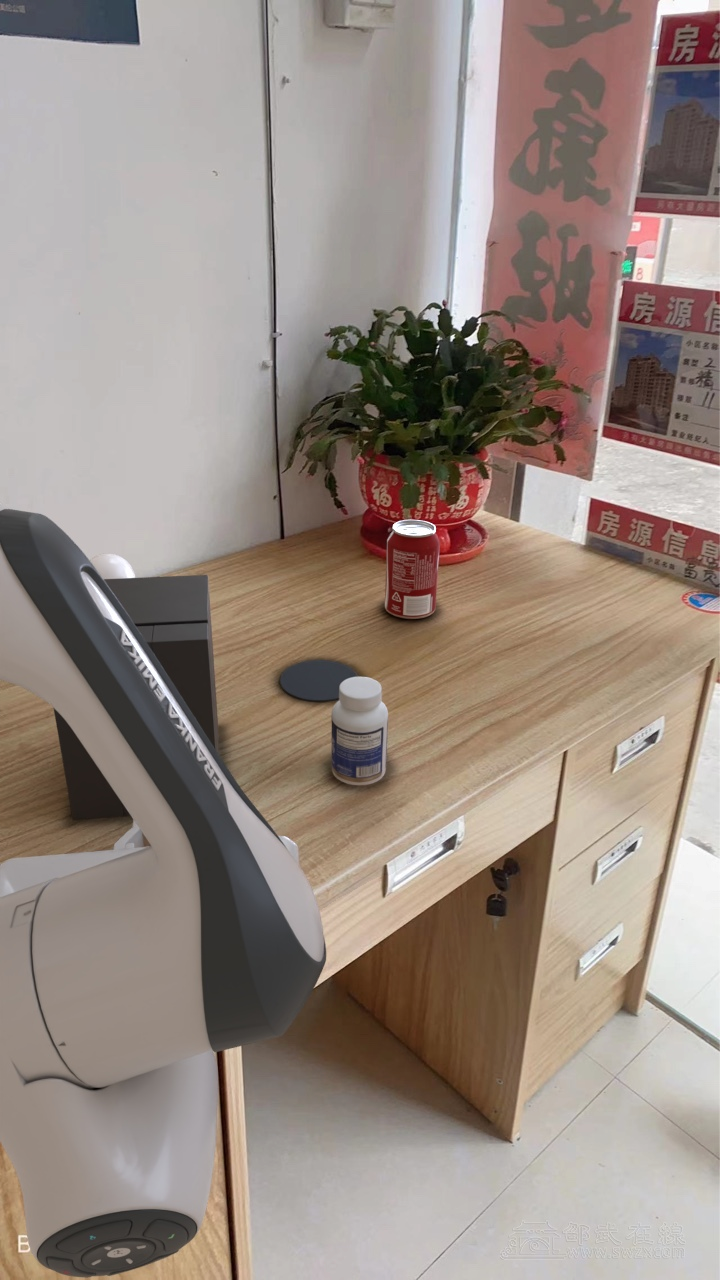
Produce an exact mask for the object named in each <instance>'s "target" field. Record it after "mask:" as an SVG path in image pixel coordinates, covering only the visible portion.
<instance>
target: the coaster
mask: <svg viewBox="0 0 720 1280" xmlns="http://www.w3.org/2000/svg"><path fill="white" fill-rule="evenodd" d="M352 677H359V676H358V674H357V672H356V671H355V670H354V669H353V668H351V667H350V666H348V665H347V664H344V663H342V662H339V661H334V660H327V659H312V660H305V661H301V662H298V663H294V664H292V665H291V666H289V667H287V668H286V669H284V670H283V672H282V673H281V675H280V677H279V686H280V687H281V689H282V690H283V692H284V693H286V694H287V695H289V696H290V697H292V698H293V699H297V700H300V701H305V702H309V703H310V702H311V703H327V702H334V701H339V687H340V684H341V683H342V682H343V681H344V680H346V679H348V678H352Z"/></svg>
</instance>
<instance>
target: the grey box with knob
mask: <svg viewBox="0 0 720 1280" xmlns="http://www.w3.org/2000/svg"><path fill="white" fill-rule="evenodd" d="M104 581H105V582H106V583H107V585H108V586H109V588H110V589H111V591H112V592H113V593H114V595H115V596H116V598H117V599H118V601H119V602H120V604H121V605H122V606H123V608H124V609H125V611H126V612H127V614H128V615H129V617H130V618H131V620H132V621H133V623H134V624H135V626H136V627H137V629H138V630H139V632H140V633H141V635H142V636H143V638H144V639H145V641H146V642H147V644H148V646H149V647H150V649H151V650H152V652H153V653H154V655H155V656H156V658H157V659H158V661H159V662H160V664H161V666H162V667H163V669H164V670H165V672H166V673H167V675H168V676H169V678H170V679H171V681H172V683H173V684H174V686H175V687H176V689H177V690H178V692H179V694H180V695H181V697H182V698H183V700H184V701H185V703H186V704H187V706H188V708H189V709H190V711H191V712H192V714H193V715H194V717H195V718H196V720H197V722H198V723H199V725H200V726H201V728H202V729H203V731H204V732H205V734H206V736H207V737H208V739H209V740H210V742H211V743H212V745H213V746H214V748H215V750H216V751H217V753H218V754H219V755H220V744H219V743H220V742H219V739H220V738H219V733H220V732H219V717H218V716H219V715H218V702H217V701H218V700H217V688H216V674H215V658H214V643H213V627H212V614H211V599H210V585H209V584H210V583H209V582H210V581H209V574H195V575H194V574H193V575H174V576H173V575H172V576H171V575H170V576H169V575H167V576H151V577H150V576H148V577H145V576H144V577H135V578H120V579H104ZM53 713H54V714H53V715H54V718H55V725H56V731H57V737H58V742H59V749H60V754H61V759H62V765H63V772H64V776H65V783H66V789H67V795H68V801H69V806H70V813H71V817H72V821H86V820H97V819H98V820H99V819H111V818H112V819H113V818H122V817H131V815H130V814H129V812H128V811H127V809H126V808H125V806H124V805H123V803H122V802H121V800H120V799H119V797H118V796H117V794H116V793H115V792H114V790H113V789H112V787H111V786H110V784H109V783H108V781H107V780H106V778H105V777H104V775H103V774H102V772H101V771H100V770H99V768H98V767H97V765H96V764H95V762H94V761H93V759H92V758H91V756H90V755H89V753H88V752H87V750H86V749H85V748H84V746H83V745H82V743H81V742H80V740H79V739H78V737H77V736H76V734H75V733H74V731H73V730H72V728H71V727H70V726H69V724H68V723H67V722H66V720H65V719H64V718H63V717H62V716H61V715H60V714H59V713H58V712H57V711H56V710H55V709H54V708H53Z"/></svg>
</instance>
